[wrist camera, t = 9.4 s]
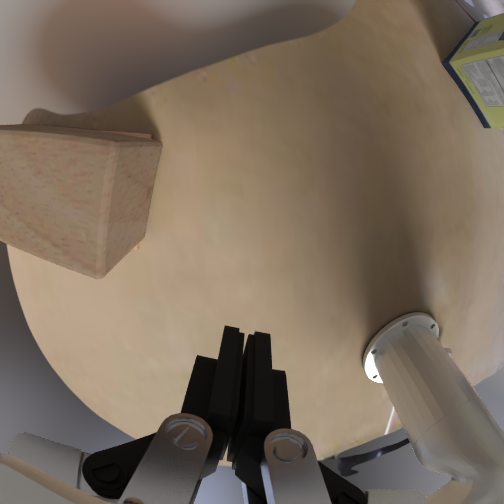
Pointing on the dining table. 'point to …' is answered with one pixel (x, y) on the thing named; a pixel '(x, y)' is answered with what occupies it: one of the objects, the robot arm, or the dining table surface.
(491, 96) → the protein box
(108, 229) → the wooden block
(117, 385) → the dining table surface
